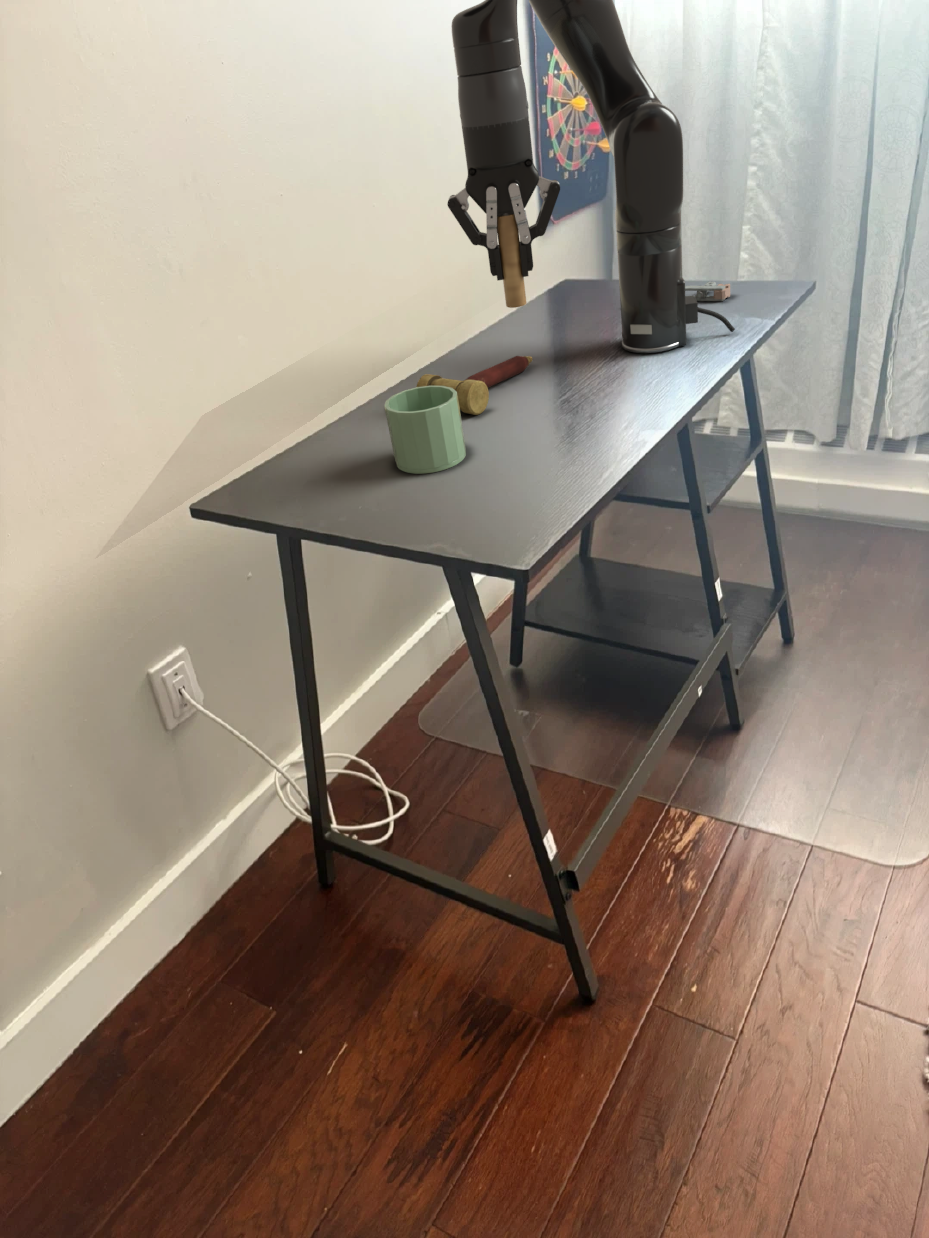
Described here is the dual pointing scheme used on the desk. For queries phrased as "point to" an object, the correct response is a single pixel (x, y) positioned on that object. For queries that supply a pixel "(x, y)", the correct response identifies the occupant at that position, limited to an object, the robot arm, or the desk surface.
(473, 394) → the gavel
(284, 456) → the desk surface
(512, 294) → the stick
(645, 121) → the robot arm
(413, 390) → the cup
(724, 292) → the clamp
